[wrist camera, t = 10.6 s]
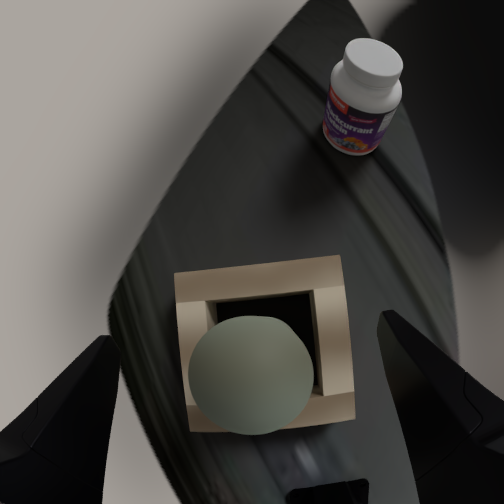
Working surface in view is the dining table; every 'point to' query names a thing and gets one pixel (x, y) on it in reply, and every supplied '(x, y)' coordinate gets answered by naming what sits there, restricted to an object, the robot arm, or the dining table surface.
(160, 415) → the dining table surface
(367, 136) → the pill bottle
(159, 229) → the dining table surface
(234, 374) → the peg
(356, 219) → the dining table surface
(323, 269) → the holder
